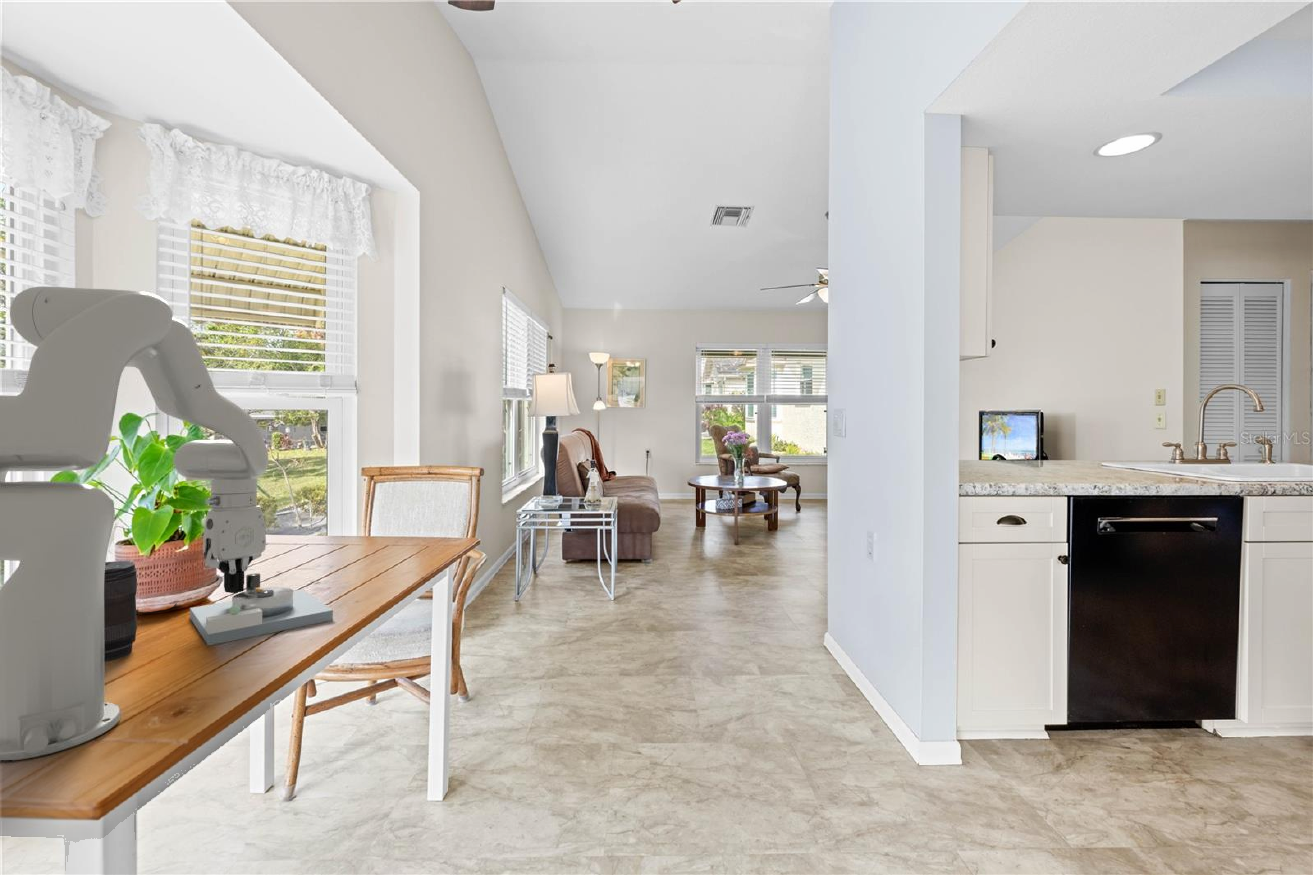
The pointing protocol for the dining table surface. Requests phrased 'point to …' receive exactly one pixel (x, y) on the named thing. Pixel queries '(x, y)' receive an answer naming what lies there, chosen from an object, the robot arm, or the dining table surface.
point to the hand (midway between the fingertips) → (234, 591)
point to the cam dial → (263, 597)
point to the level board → (270, 622)
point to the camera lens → (119, 608)
